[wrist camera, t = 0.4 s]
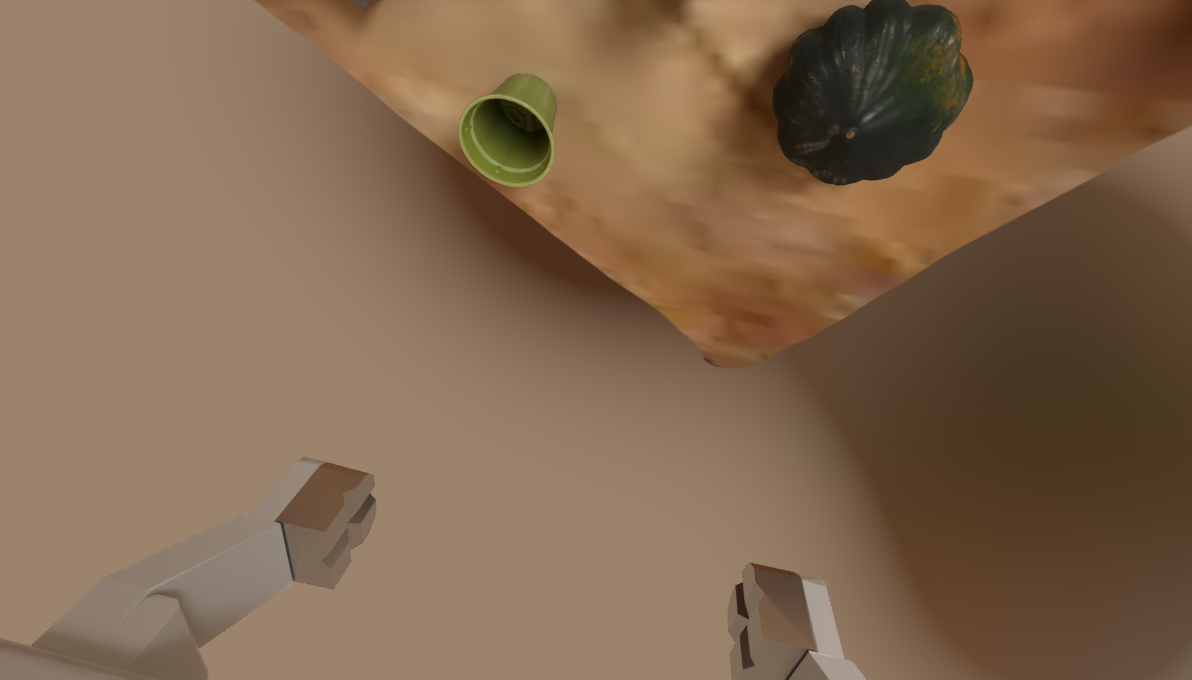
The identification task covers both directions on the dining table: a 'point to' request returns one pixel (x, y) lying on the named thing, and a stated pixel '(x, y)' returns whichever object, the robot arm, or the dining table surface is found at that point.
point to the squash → (871, 90)
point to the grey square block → (364, 3)
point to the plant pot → (511, 132)
